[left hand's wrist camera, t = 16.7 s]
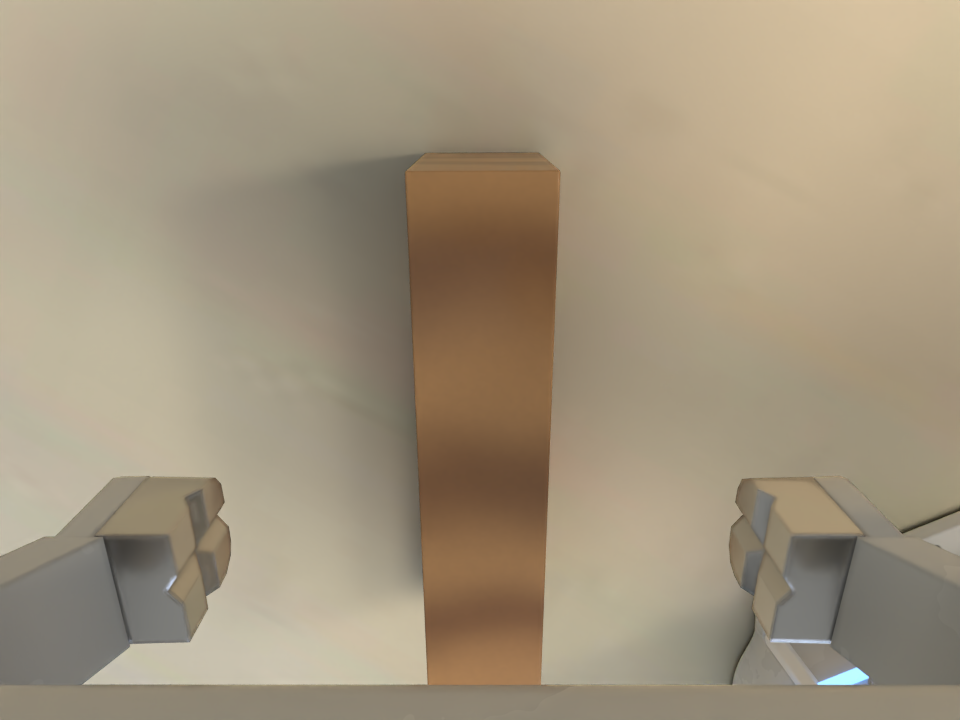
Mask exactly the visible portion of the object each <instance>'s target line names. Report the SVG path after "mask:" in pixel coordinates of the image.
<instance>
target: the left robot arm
mask: <svg viewBox="0 0 960 720" xmlns="http://www.w3.org/2000/svg"><path fill="white" fill-rule="evenodd" d="M224 503H225V501H224V496H223V491H222V487H221V483H220V482H219V481H218V480H217V479H216V478H204V477H150V476H122V477H117V478H113V479H112V480H111V481H110V482H109V483H108V484H107V485H106V486H105V487H104V488H103V489H102V490H101V491H100V492H99V493H98V494H97V495H96V496H95V497H94V498H93V499H92V500H91V501H90V502H89V503H88V504H87V505H86V506H85V507H84V508H83V509H82V510H81V511H80V512H79V513H78V514H77V515H76V516H75V517H74V518H73V519H72V520H71V521H70V522H69V523H68V524H67V525H66V526H65V527H64V528H63V529H62V530H61V531H60V532H59V533H58V534H57V535H56V536H55V537H43V538H40V539H38V540H36V541H34V542H31V543H29V544H27V545H25V546H22V547H20V548H18V549H16V550H13V551H11V552H9V553H7V554H5V555H2V556H0V720H960V511H958V512H956V513H953V514H951V515H948V516H946V517H943V518H941V519H938V520H936V521H933V522H931V523H928V524H926V525H923V526H921V527H918V528H916V529H913V530H911V531H908V532H906V533H903V534H902V533H901V532H900V531H899V530H898V529H897V528H896V527H895V526H894V525H893V524H892V523H891V522H890V521H889V520H888V519H887V518H886V517H885V516H884V515H883V514H882V513H881V512H880V511H879V510H878V509H877V508H876V507H875V506H874V505H873V504H872V503H871V502H870V501H869V500H868V499H867V498H866V497H865V496H864V495H863V494H862V493H861V492H860V491H859V490H858V489H857V488H856V487H855V486H854V485H853V484H852V483H851V482H850V481H849V480H848V479H847V478H844V477H841V476H821V477H787V478H749V479H742V480H741V483H740V485H739V487H738V490H737V496H736V501H735V503H736V504H737V506H738V507H739V509H740V511H741V512H742V514H743V515H742V516H741V517H740V518H739V519H738V520H737V521H736V522H735V523H734V524H733V525H732V526H731V533H730V540H729V551H730V563H731V566H732V569H733V573H734V576H735V578H736V580H737V582H738V584H739V586H740V587H741V588H742V589H744V590H745V591H747V592H748V593H750V594H751V595H753V596H754V599H753V605H752V610H753V612H754V613H755V631H754V634H753V637H752V639H751V641H750V643H749V644H748V646H747V648H746V650H745V651H744V653H743V655H742V657H741V659H740V661H739V663H738V665H737V668H736V671H735V674H734V678H733V683H732V685H82V684H83V683H84V682H86V681H87V680H88V679H90V678H91V677H92V676H93V675H95V674H96V673H97V672H98V671H100V670H101V669H102V668H104V667H105V666H106V665H107V664H109V663H110V662H111V661H112V660H114V659H115V658H116V657H118V656H119V655H120V654H121V653H123V652H124V651H125V650H126V649H128V648H129V647H130V644H139V643H175V642H190V641H191V639H192V637H193V635H194V634H195V632H196V630H197V628H198V626H199V624H200V623H201V621H202V619H203V617H204V615H205V613H206V612H207V610H208V605H207V599H206V596H207V595H209V594H210V593H212V592H213V591H215V590H216V589H218V588H219V587H220V585H221V584H222V582H223V580H224V578H225V576H226V574H227V569H228V565H229V560H230V556H231V538H230V532H229V526H228V525H227V524H226V523H225V522H224V521H223V520H222V519H221V518H220V517H219V516H218V515H217V514H218V512H219V511H220V509H221V507H222V506H223V504H224Z"/></svg>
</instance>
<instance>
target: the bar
mask: <svg viewBox="0 0 960 720" xmlns="http://www.w3.org/2000/svg"><path fill="white" fill-rule="evenodd" d="M405 186H406V208H407V230H408V253H409V275H410V298H411V320H412V343H413V365H414V387H415V410H416V432H417V455H418V477H419V499H420V522H421V544H422V567H423V589H424V612H425V634H426V656H427V679H428V685H541V663H542V637H543V611H544V585H545V559H546V533H547V507H548V481H549V455H550V429H551V403H552V377H553V351H554V325H555V299H556V272H557V246H558V220H559V194H560V171H559V170H558V169H557V168H556V167H555V166H554V165H553V164H551V163H550V162H549V161H548V160H547V159H546V158H544V157H543V156H542V155H541V154H540V153H425V154H424V155H423V156H422V157H421V158H420V159H419V160H417V161H416V162H415V163H414V164H413V165H412V166H411V167H410V168H409V169H408V170H407V171H405Z"/></svg>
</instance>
